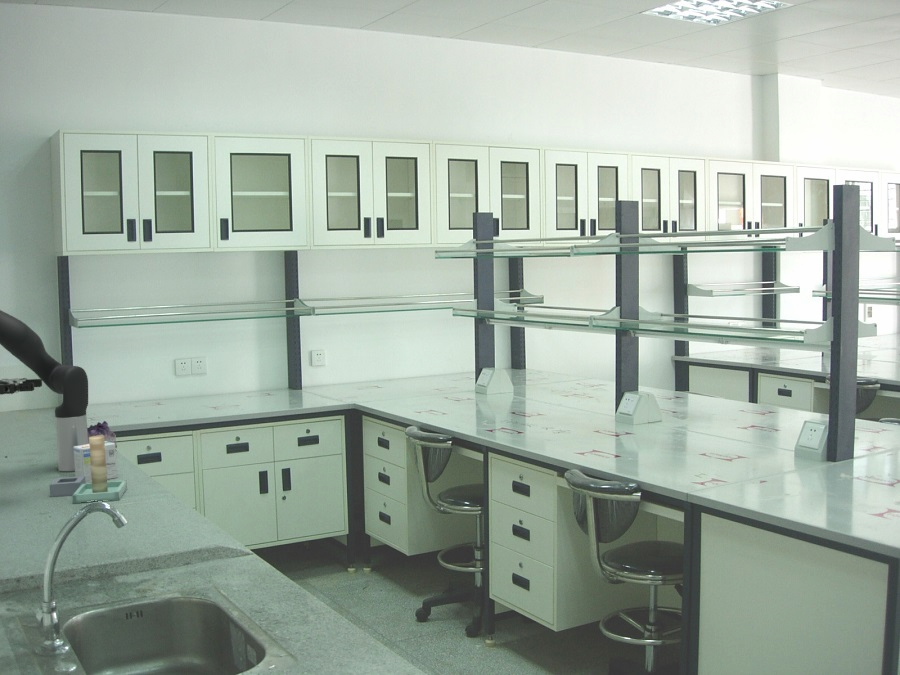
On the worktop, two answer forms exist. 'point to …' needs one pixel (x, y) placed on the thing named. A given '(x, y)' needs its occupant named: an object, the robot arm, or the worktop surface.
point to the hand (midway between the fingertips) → (37, 384)
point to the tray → (113, 492)
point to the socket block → (66, 486)
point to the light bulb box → (84, 461)
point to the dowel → (98, 464)
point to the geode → (102, 432)
